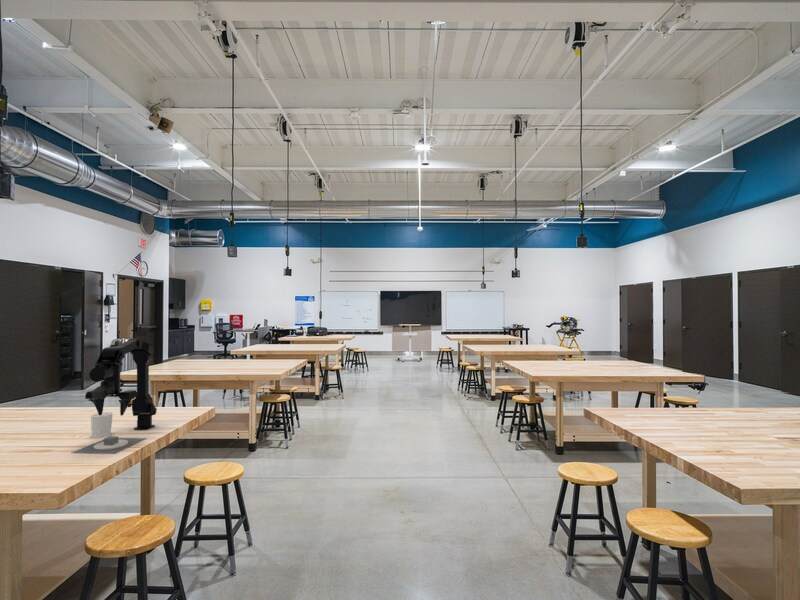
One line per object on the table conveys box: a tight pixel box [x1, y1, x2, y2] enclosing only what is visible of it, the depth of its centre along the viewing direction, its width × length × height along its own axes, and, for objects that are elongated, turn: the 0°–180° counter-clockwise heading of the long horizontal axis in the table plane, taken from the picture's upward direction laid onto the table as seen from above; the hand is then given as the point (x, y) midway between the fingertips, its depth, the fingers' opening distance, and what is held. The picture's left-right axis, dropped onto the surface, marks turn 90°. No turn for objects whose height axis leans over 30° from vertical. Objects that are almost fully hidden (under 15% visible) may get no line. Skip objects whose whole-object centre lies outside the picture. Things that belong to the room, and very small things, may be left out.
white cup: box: [90, 411, 113, 439], centre depth 190 cm, size 8×8×10 cm
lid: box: [93, 435, 128, 450], centre depth 177 cm, size 12×12×3 cm
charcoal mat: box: [71, 437, 148, 455], centre depth 177 cm, size 20×18×1 cm
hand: (111, 415), depth 177 cm, fingers open, 9 cm apart
